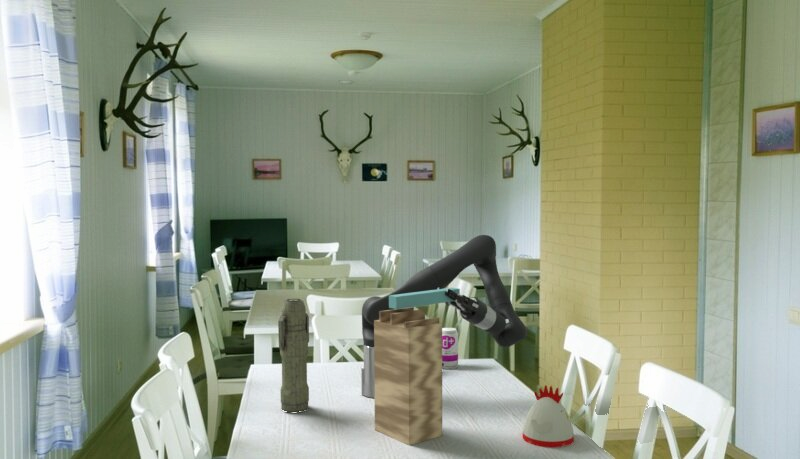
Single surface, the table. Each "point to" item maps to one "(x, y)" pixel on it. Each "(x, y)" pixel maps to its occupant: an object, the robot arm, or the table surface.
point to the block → (420, 298)
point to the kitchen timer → (548, 421)
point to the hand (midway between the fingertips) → (442, 291)
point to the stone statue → (294, 355)
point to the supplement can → (449, 348)
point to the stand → (408, 375)
